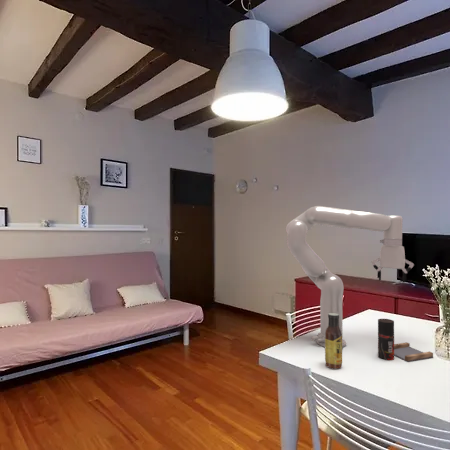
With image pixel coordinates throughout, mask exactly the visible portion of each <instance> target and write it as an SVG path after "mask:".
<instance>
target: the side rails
mask: <svg viewBox="0 0 450 450" xmlns="http://www.w3.org/2000/svg"><path fill="white" fill-rule="evenodd" d="M405 347H411V344H410V343H409V342H401V343H399V342H398V343H394V349H398V348H405ZM423 352H424V351H423ZM432 356H433V357H434V352H431V351H425V352H424V353H418V354H412V355H406V356H405V360H406V361H405V362H406V363H411V361H412V362H416V360H417V361H422V360H427V359H428V358H426V357H429V359H432V358H431V357H432ZM421 358H422V359H421ZM415 359H416V360H415ZM407 360H408V361H407ZM409 361H410V362H409Z"/></svg>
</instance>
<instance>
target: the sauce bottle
mask: <svg viewBox="0 0 450 450" xmlns="http://www.w3.org/2000/svg"><path fill="white" fill-rule="evenodd" d="M328 318H329V323H328V325H329V326H328V328H327V329H326V332H325V347H324V359H325V360H324V361H325V366H326V367H327V368H329V369H334V370H337V369H341V368H342V366H343V347H342V334H341V331H340V328H339V314H337V313H329V314H328Z"/></svg>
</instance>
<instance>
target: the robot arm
mask: <svg viewBox="0 0 450 450" xmlns="http://www.w3.org/2000/svg"><path fill="white" fill-rule="evenodd" d="M317 225H320V226H326V227H334V228H340V229H341V228H342V229H360V230H367V231H368V230H369V231H371V232H381V233H382V232H383V238H382V239H380V240H379V243H380V244H382V245H381V246H380V251H379V257H378V258H375V259H373V260H371V262H370V263H371V265H372V266H373V269H375V270H376V271H377V275H376V276H377V279H378V281H381V280H382V271H381V270H382V269H383V268H384V269H393V270H394V269H396V270H397V269H398V270H402V282H403V283H405V282H406V281H407V274H408V273H409V272H410V271H411V270H412V268H413V267H414V266H415V264H414V263H413V262H412V261H409V260H408V259H406V255H405V254H406V253H405V246H403V217H402V216H401V215H386V214H383V213H376V212H375V213H374V212H367V211H361V210H360V211H358V210H355V209H354V210H352V209H347V208H346V209H344V208H338V207H330V206H324V205H323V206H322V205H315V206H311V207H309V208H308V209H306V210H305V211H304V212H301V214H299V215H298V216H296V217H295V218H294V219H292V220H291V221H289V222H288V223H287V225H286V227H285V231H286V234H287V237H286V243H287V248H288V251H289V252H290V254H291V255H292V256H293V257H294V259H295V260H296V261H297V262H298V264H299V265H300V266H301V269H302V271H303V272H304V273H305V275H307V277H308V278H309V280H311V281H312V282H313V283H314V284H315V286H316V287H317V289H320V298H319V299H320V302H319V303H320V305H319V306H320V312H319V313H320V314H319V315H320V317H319V319H320V332H318V334H317V335H314V336H311V337H310V339H311V341H312V342H315V341H316V343H317V344H318V345H319V346H321V347H323V348H325V332H326V329H327V328H328V326H329V325H328V323H329V318H328V314H329V313H337V314H339V328H340V331H341V334H342V348H345V347H346V346H347V341H346V340H345V339H343V296H344V290H345V289H344V283H343V280H342V278H341V277H340V276H338V275H337V274H335V273H333V272H331V270H330V269H329V268H328V267H327V265H326V263H325V261H324V260H323V258H321V257H320V256H319V255H318V254H317V253H316V252H315V251H314V250H313V248H312V247H311V246H310V245H309V243H308V242H307V235H308V231H310V230H312V228H314V227H315V226H317ZM377 262H379V266H378V265H377ZM406 264H407V265H409V266H408V267H407V268H405V266H406Z"/></svg>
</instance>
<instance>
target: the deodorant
mask: <svg viewBox="0 0 450 450" xmlns="http://www.w3.org/2000/svg"><path fill="white" fill-rule="evenodd" d="M394 344H395V320H393V319H390V318H378V319H377V358H379V359H380V360H384V361H394V359H395V356H394Z"/></svg>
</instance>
